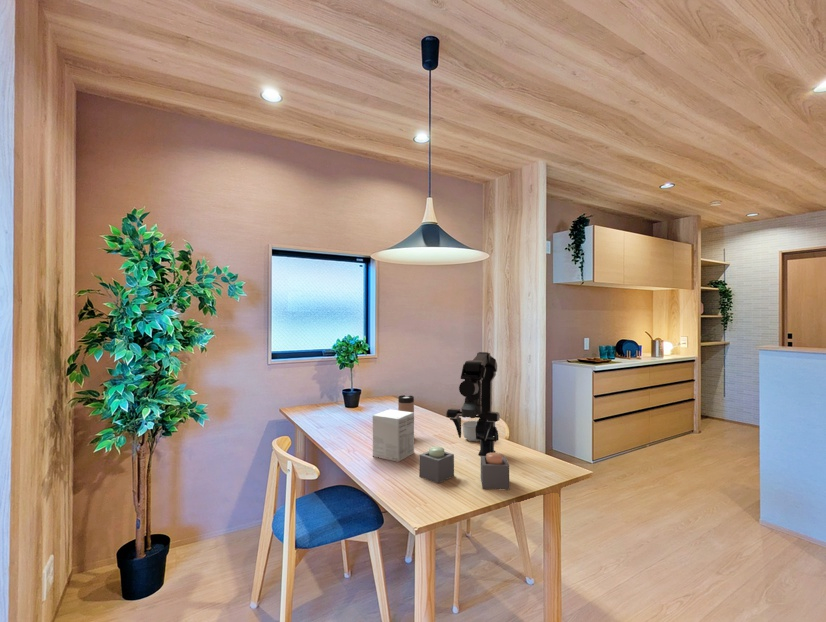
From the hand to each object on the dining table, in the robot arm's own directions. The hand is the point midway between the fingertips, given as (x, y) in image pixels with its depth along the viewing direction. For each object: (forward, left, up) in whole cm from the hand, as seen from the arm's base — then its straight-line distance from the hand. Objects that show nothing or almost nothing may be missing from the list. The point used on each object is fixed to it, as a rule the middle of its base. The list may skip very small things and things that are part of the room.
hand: (472, 439), depth 149 cm
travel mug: (-39, -38, -14) cm, 56 cm away
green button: (+3, -13, -7) cm, 15 cm away
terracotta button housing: (+4, +8, -14) cm, 17 cm away
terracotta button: (+4, +8, -7) cm, 11 cm away
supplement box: (-15, -36, -14) cm, 41 cm away
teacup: (-47, -6, -14) cm, 50 cm away
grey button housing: (+3, -13, -14) cm, 19 cm away
